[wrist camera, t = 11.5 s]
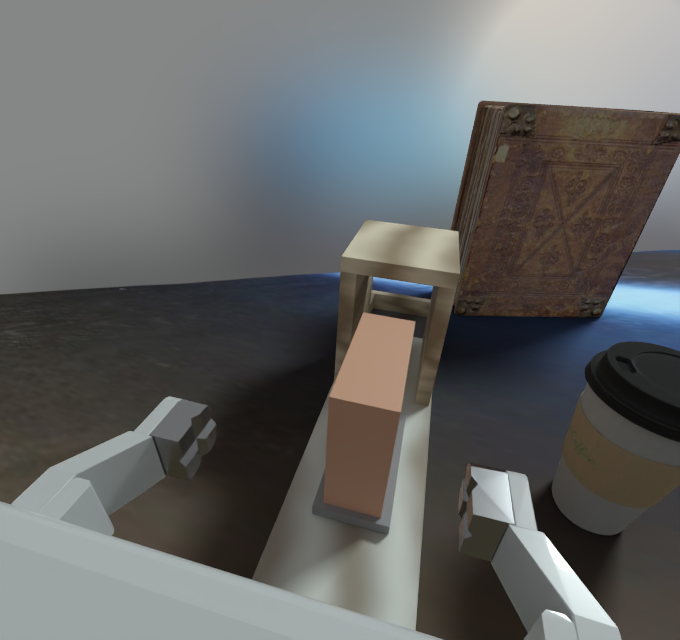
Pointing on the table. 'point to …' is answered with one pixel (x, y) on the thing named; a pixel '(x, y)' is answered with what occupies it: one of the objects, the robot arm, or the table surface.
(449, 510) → the table surface
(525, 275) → the book
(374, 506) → the block
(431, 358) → the tunnel track
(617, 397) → the coffee cup
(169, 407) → the robot arm
